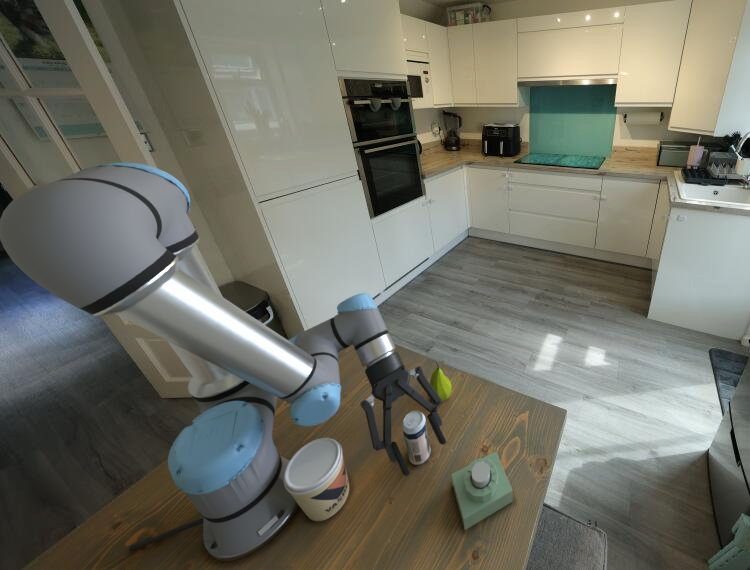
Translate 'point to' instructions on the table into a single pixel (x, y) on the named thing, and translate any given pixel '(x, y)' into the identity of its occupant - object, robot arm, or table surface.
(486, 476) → the grey button cap
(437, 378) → the fruit
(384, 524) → the table surface
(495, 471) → the grey button cap base
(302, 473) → the ice cream tub
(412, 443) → the beer can
